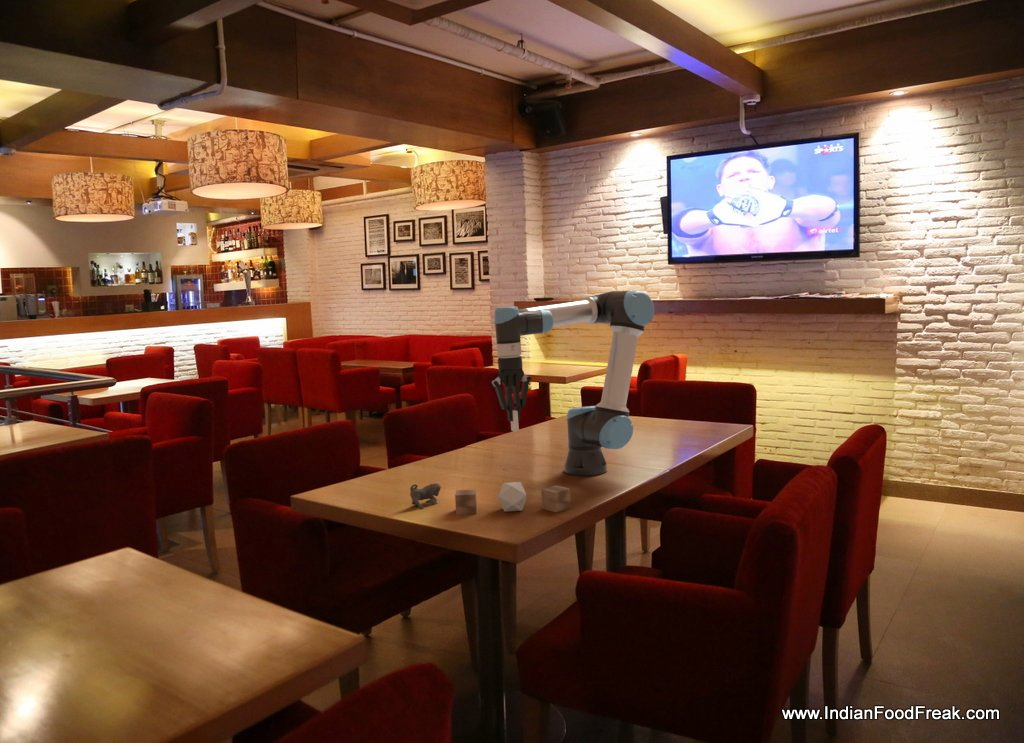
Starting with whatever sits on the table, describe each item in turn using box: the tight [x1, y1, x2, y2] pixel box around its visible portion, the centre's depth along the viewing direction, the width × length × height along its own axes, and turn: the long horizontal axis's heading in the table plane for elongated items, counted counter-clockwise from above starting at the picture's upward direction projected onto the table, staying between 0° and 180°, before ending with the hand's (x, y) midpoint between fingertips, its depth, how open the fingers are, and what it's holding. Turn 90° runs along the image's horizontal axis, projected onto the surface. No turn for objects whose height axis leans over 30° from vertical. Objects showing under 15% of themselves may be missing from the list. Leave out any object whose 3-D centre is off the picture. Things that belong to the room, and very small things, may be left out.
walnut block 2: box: [541, 485, 572, 513], centre depth 234 cm, size 6×6×6 cm
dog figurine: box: [409, 483, 442, 510], centre depth 245 cm, size 12×6×7 cm, turn 135°
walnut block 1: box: [454, 488, 478, 516], centre depth 235 cm, size 6×6×6 cm
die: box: [497, 481, 528, 513], centre depth 235 cm, size 8×9×10 cm
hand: (515, 430), depth 247 cm, fingers closed
